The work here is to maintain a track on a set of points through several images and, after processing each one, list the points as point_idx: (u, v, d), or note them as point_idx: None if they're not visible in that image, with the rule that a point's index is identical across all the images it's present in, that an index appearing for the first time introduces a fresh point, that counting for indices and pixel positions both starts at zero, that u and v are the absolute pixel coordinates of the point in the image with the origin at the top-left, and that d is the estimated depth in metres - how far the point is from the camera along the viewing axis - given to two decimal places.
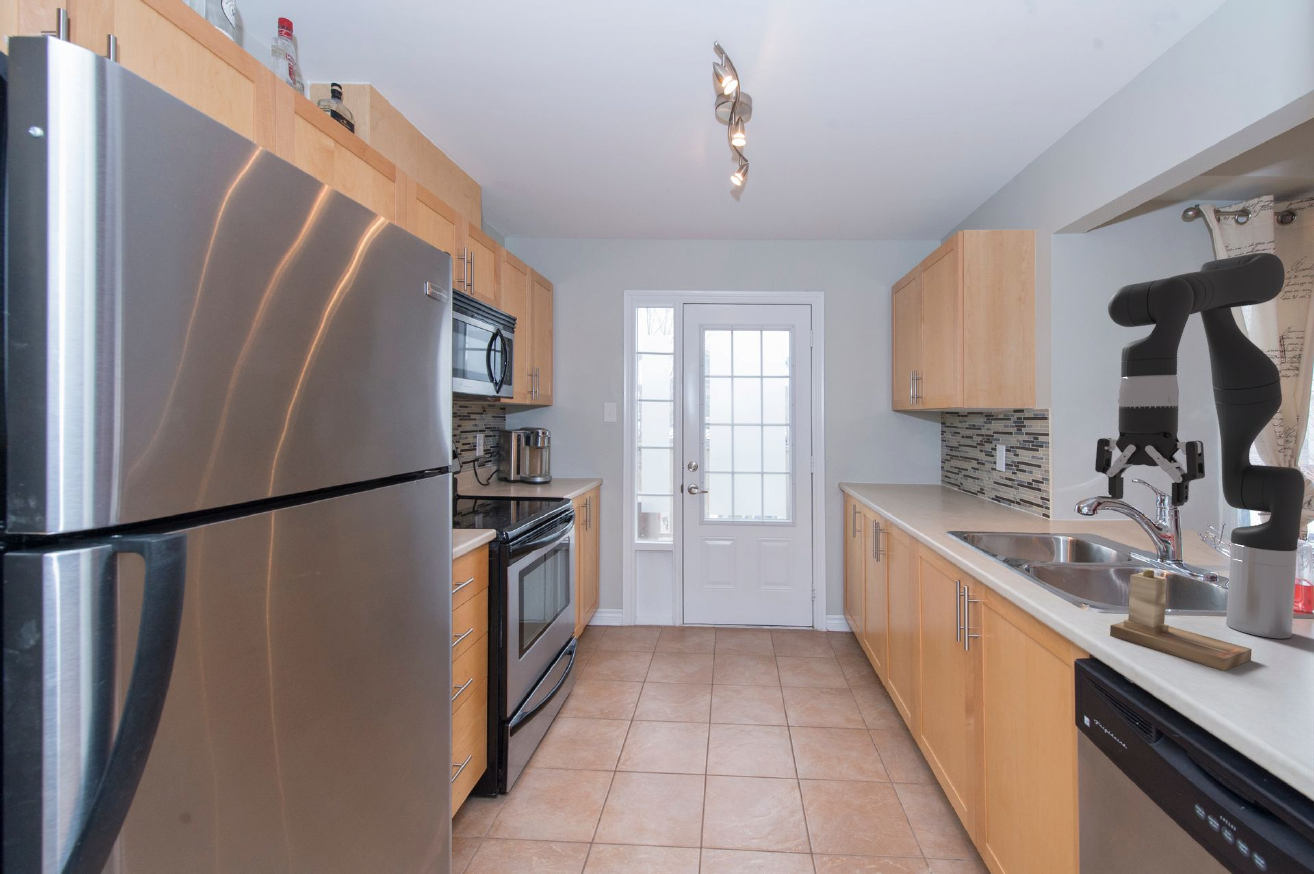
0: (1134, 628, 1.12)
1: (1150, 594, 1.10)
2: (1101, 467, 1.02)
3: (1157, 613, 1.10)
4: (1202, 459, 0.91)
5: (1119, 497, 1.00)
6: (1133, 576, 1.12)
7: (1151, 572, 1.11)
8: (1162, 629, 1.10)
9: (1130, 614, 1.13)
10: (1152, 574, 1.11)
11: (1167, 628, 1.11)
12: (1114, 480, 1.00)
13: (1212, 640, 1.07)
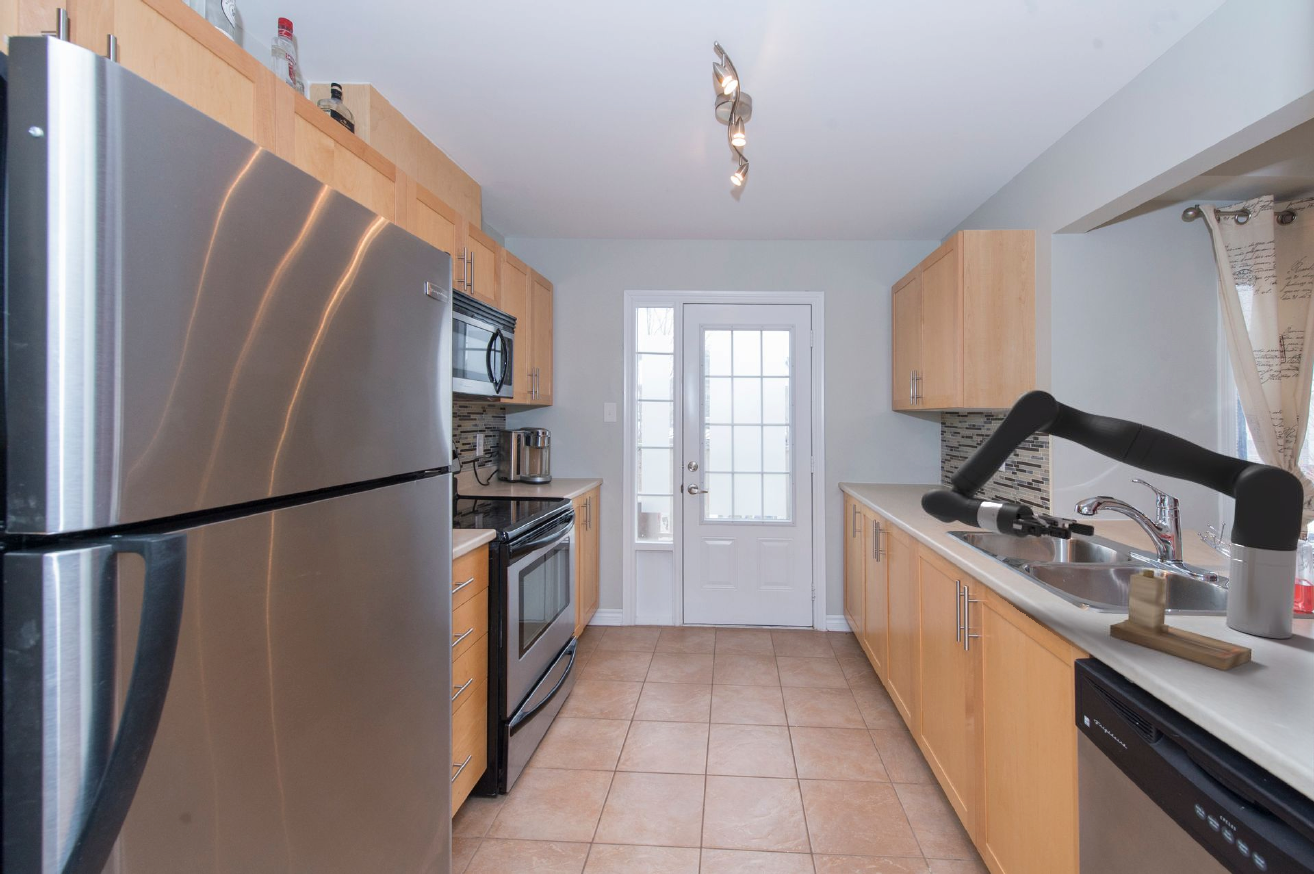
0: (1134, 628, 1.12)
1: (1150, 594, 1.10)
2: None
3: (1157, 613, 1.10)
4: (1025, 524, 1.25)
5: (1090, 531, 1.24)
6: (1133, 576, 1.12)
7: (1151, 572, 1.11)
8: (1162, 629, 1.10)
9: (1130, 614, 1.13)
10: (1152, 574, 1.11)
11: (1167, 628, 1.11)
12: None
13: (1212, 640, 1.07)
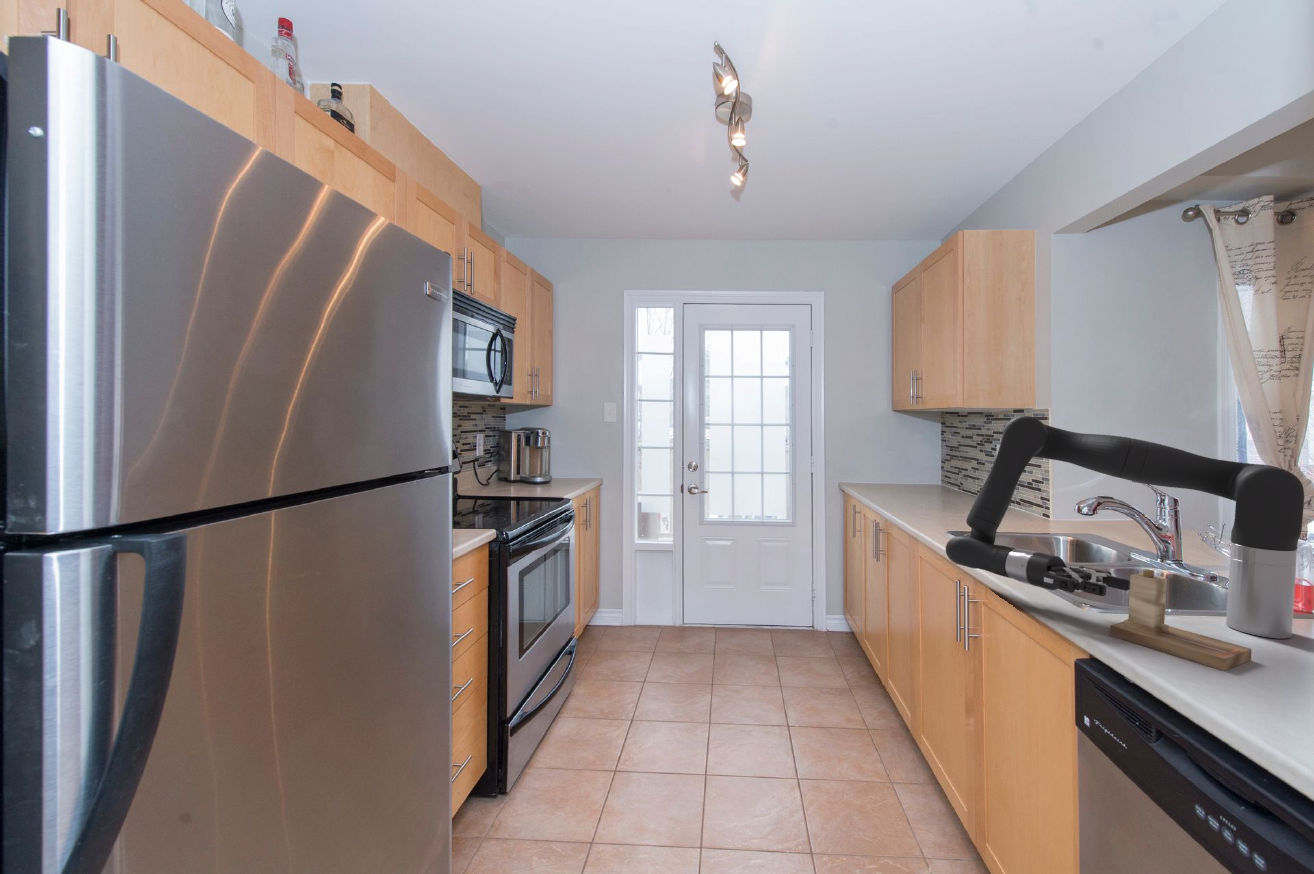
0: (1134, 628, 1.12)
1: (1150, 594, 1.10)
2: None
3: (1157, 613, 1.10)
4: (1056, 579, 1.20)
5: (1126, 585, 1.18)
6: (1133, 576, 1.12)
7: (1151, 572, 1.11)
8: (1162, 629, 1.10)
9: (1130, 614, 1.13)
10: (1152, 574, 1.11)
11: (1167, 628, 1.11)
12: (1110, 586, 1.21)
13: (1212, 640, 1.07)
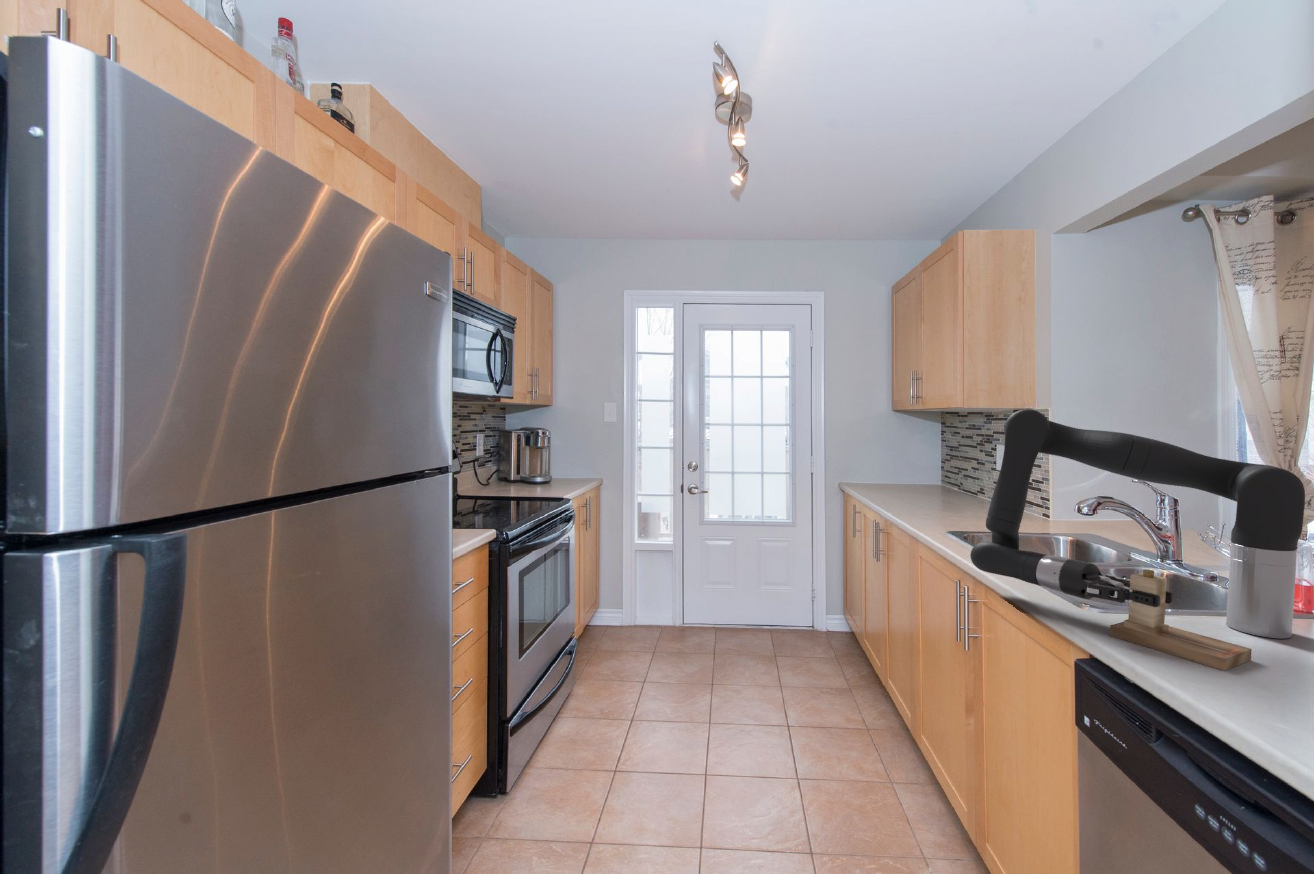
0: (1134, 628, 1.12)
1: None
2: None
3: (1157, 613, 1.10)
4: (1104, 589, 1.13)
5: (1169, 598, 1.10)
6: (1133, 576, 1.12)
7: (1151, 572, 1.11)
8: (1162, 629, 1.10)
9: (1130, 614, 1.13)
10: (1152, 574, 1.11)
11: (1167, 628, 1.11)
12: None
13: (1212, 640, 1.07)
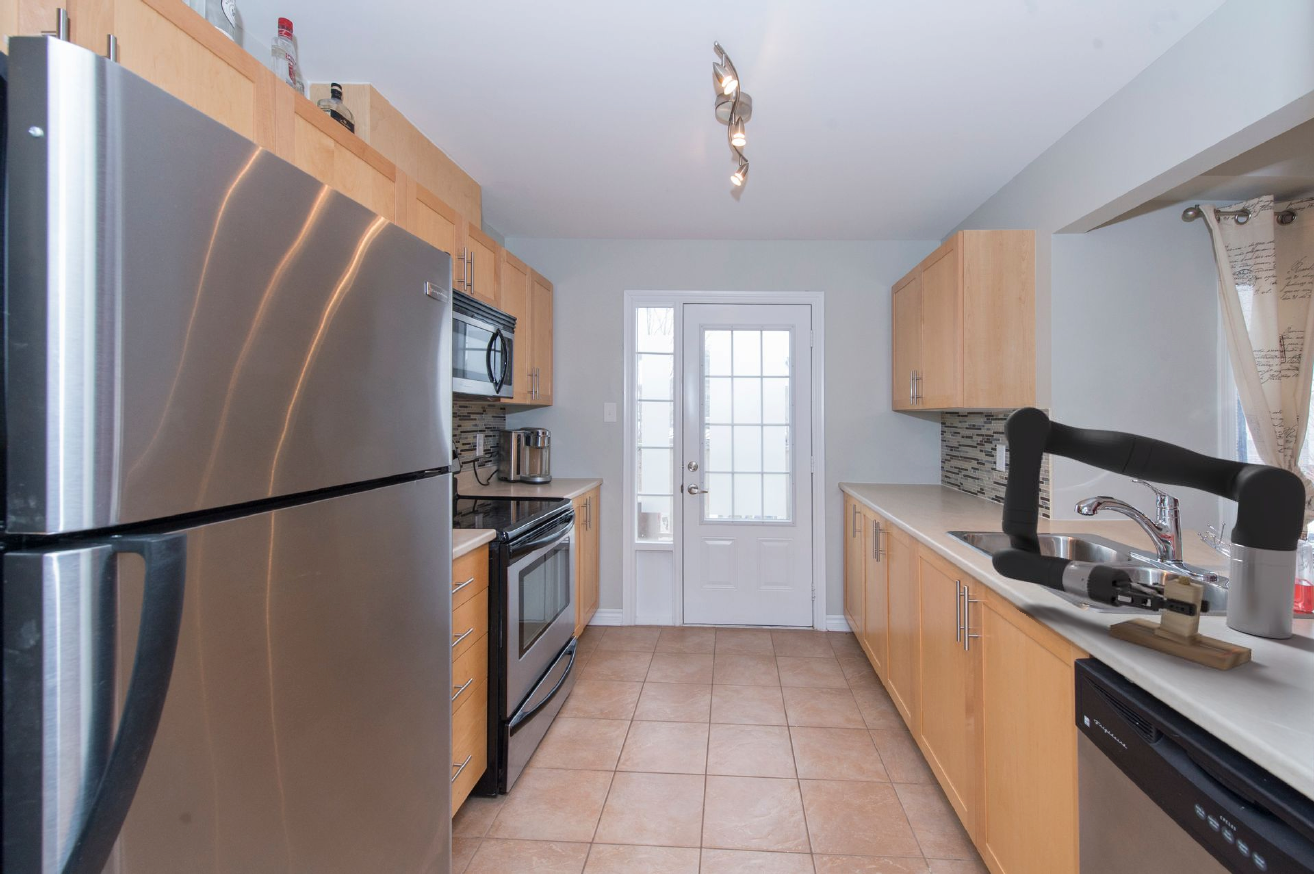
0: (1166, 636, 1.07)
1: None
2: None
3: (1192, 622, 1.05)
4: (1137, 597, 1.08)
5: (1205, 607, 1.06)
6: (1168, 583, 1.07)
7: (1188, 579, 1.06)
8: (1196, 639, 1.05)
9: (1162, 622, 1.08)
10: (1189, 581, 1.06)
11: (1200, 637, 1.06)
12: None
13: (1212, 640, 1.07)
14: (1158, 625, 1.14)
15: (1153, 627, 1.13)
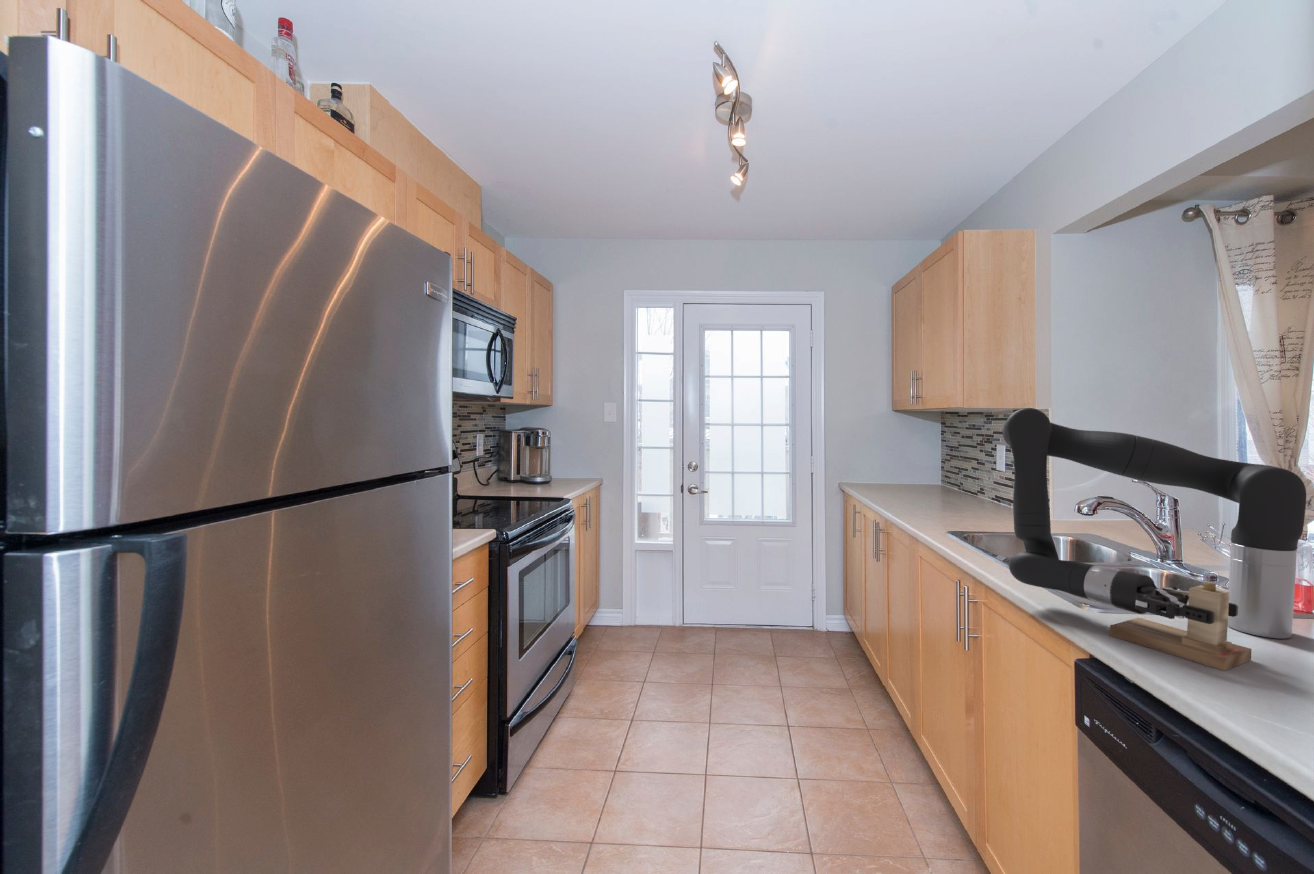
0: (1194, 645, 1.04)
1: (1212, 609, 1.02)
2: None
3: (1220, 630, 1.02)
4: (1152, 603, 1.05)
5: (1233, 610, 1.04)
6: (1192, 589, 1.04)
7: (1213, 585, 1.03)
8: (1225, 647, 1.01)
9: (1189, 630, 1.05)
10: (1214, 587, 1.03)
11: (1230, 646, 1.03)
12: None
13: None
14: (1158, 625, 1.14)
15: (1153, 627, 1.13)
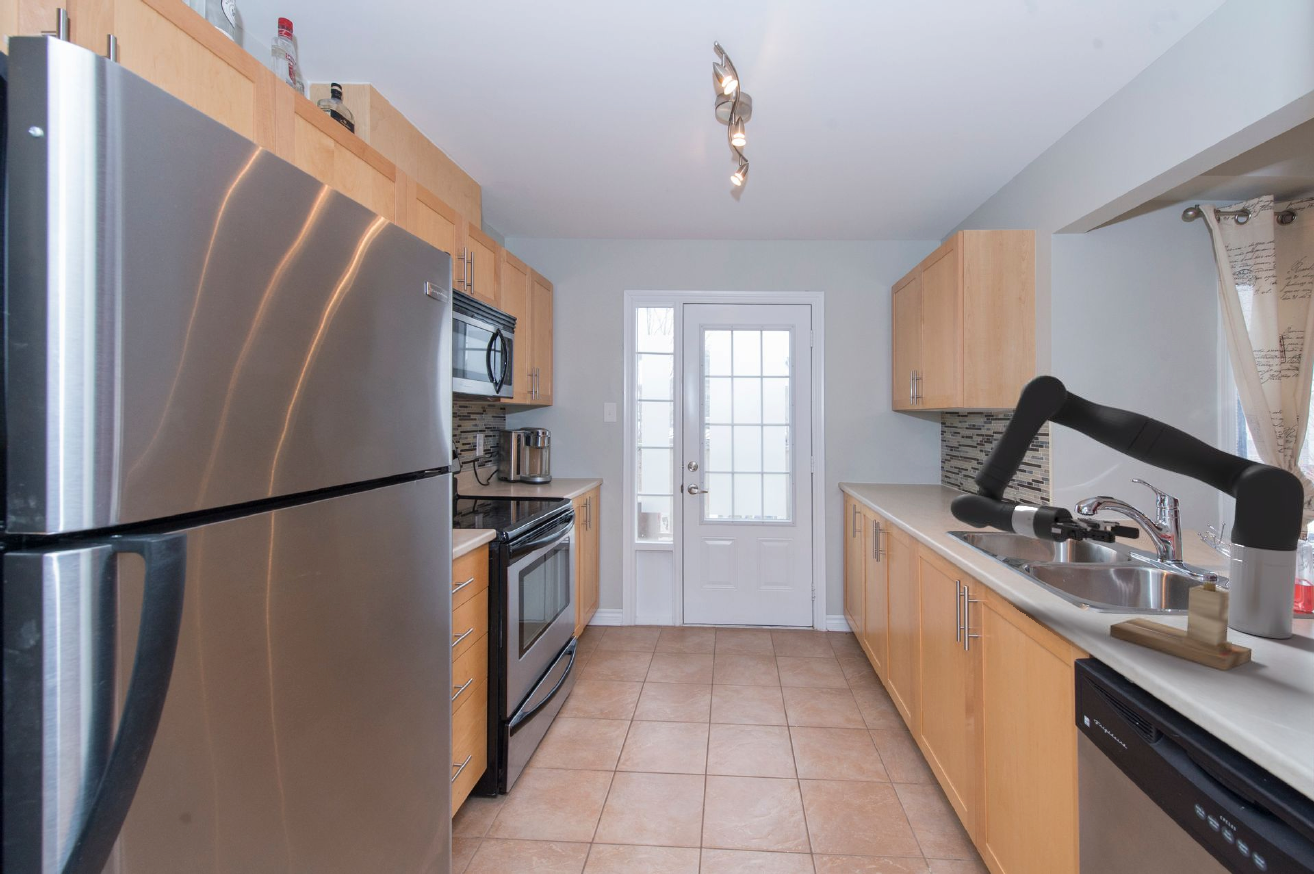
0: (1194, 645, 1.04)
1: (1212, 609, 1.02)
2: None
3: (1220, 630, 1.02)
4: (1064, 528, 1.18)
5: (1135, 533, 1.17)
6: (1192, 589, 1.04)
7: (1213, 585, 1.03)
8: (1225, 647, 1.01)
9: (1189, 630, 1.05)
10: (1214, 587, 1.03)
11: (1230, 646, 1.03)
12: (1119, 536, 1.20)
13: None
14: (1158, 625, 1.14)
15: (1153, 627, 1.13)
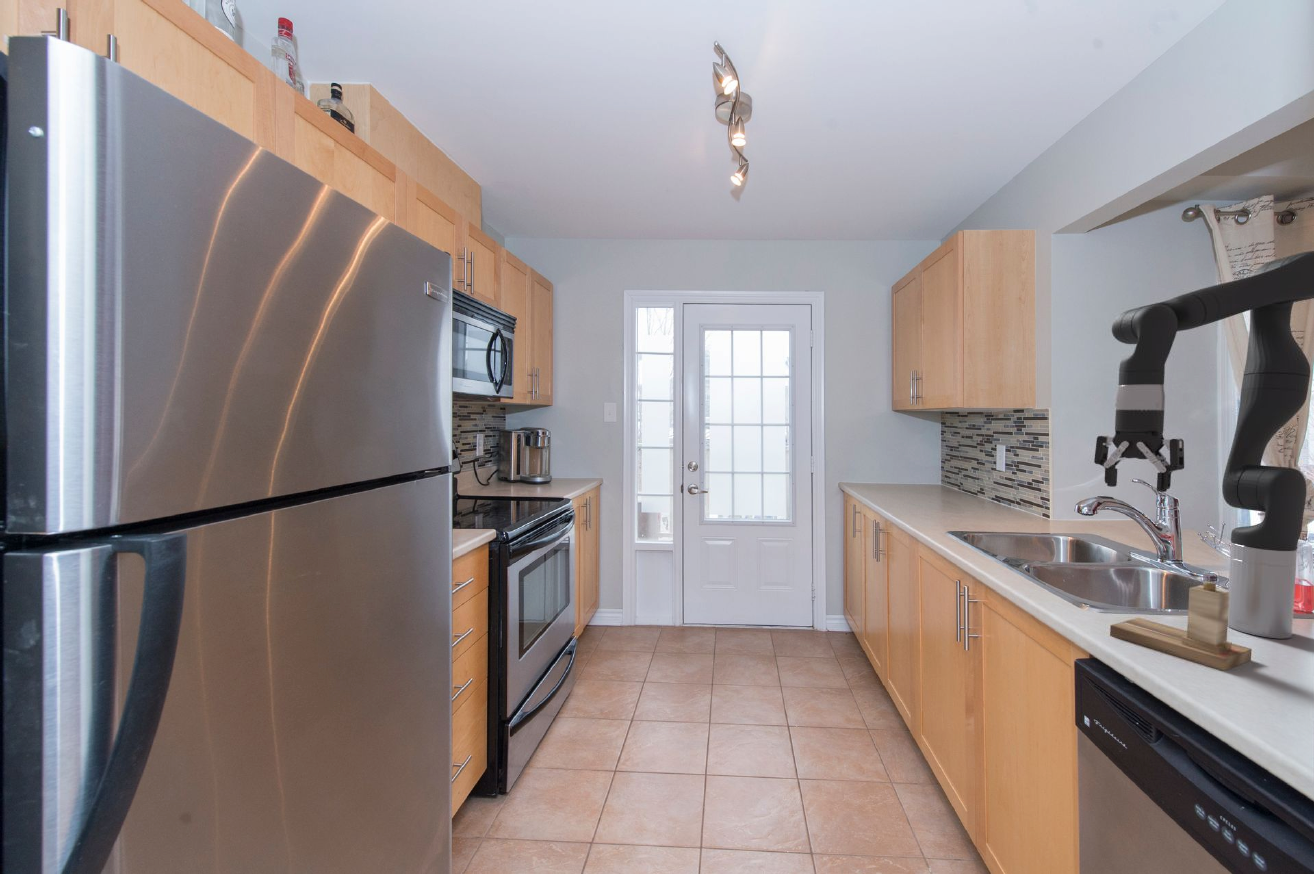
0: (1194, 645, 1.04)
1: (1212, 609, 1.02)
2: (1099, 460, 1.22)
3: (1220, 630, 1.02)
4: (1182, 453, 1.11)
5: (1113, 485, 1.21)
6: (1192, 589, 1.04)
7: (1213, 585, 1.03)
8: (1225, 647, 1.01)
9: (1189, 630, 1.05)
10: (1214, 587, 1.03)
11: (1230, 646, 1.03)
12: (1110, 470, 1.21)
13: None
14: (1158, 625, 1.14)
15: (1153, 627, 1.13)
